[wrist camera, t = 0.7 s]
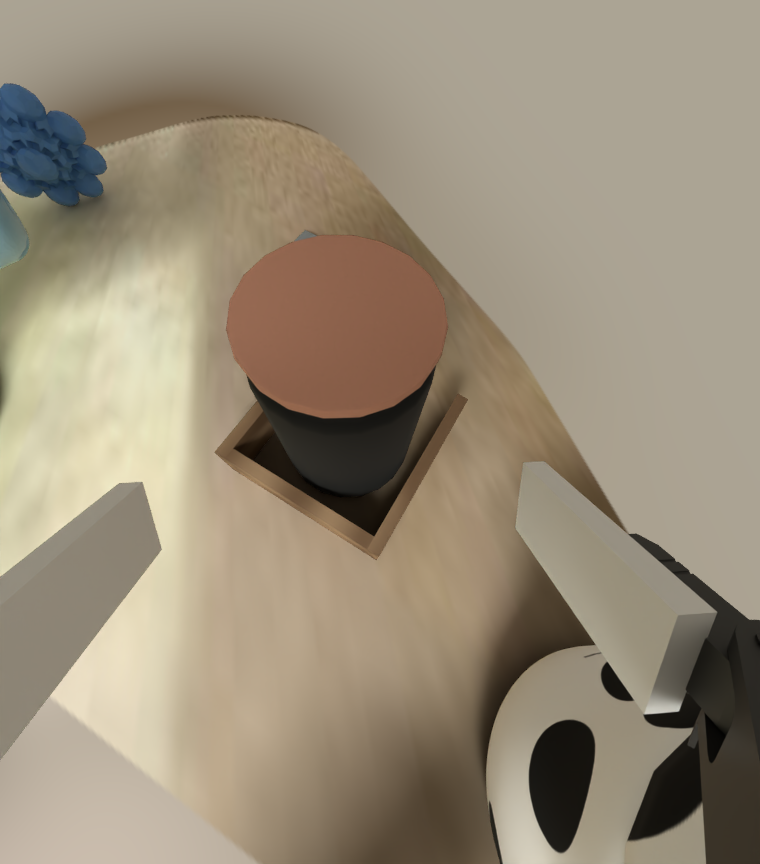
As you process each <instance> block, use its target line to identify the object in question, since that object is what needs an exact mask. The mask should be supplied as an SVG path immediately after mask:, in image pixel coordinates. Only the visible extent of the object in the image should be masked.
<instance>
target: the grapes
mask: <svg viewBox="0 0 760 864" xmlns="http://www.w3.org/2000/svg"><path fill="white" fill-rule="evenodd" d="M85 140H86V135H85V132H84V130H83V128H82V127H81V125H80V124H79V123H78V121H77V120H75V119H74V118H72V117H71V116H70V115H68V114H66V113H64V112H60V111H50V112H49V113H48V114H47V115H46V111H45V108H44V106H43V105H42V103H41V102H40V101H39V100H38V98H37V97H36V96H35V95H34V94H33V93H31V92H30V91H29V90H27V89H25V88H23V87H21V86H20V85H16V84H4V85H3V86H2V87H1V88H0V173H1V177H2V181H3V182H4V183H5V184H6V185H7V186H8V187H9V188H10V189H11V190H12V191H14V192H15V193H17V194H19V195H21V196H25V197H30V198H34V197H38V196H40V195H41V193H42V192H43V191H44V192H45V193H46V195H47V196H48V197H49V198H50V199H51V200H53V201H54V202H56V203H58V204H61V205H66V206H73V205H76V204H77V203H78V201H79V200H80V199H79V194H78V192H79V193H81V194H82V195H85V196H88V197H93V198H94V197H98V196H100V195H101V194H102V192H103V191H104V190H103V185H102V183H101V182H100V181H99V179H98V178H97V177H96V176H95V175H100V174H103V173H104V172H105V170H106V169H107V166H106V161H105V160H104V158H103V157H102V155H101V154H100V153H99V152H98V151H97V150H95V149H94V148H92V147H90V146H88V145H85V144H83V143H84V142H85Z"/></svg>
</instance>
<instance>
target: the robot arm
mask: <svg viewBox="0 0 760 864" xmlns="http://www.w3.org/2000/svg"><path fill="white" fill-rule="evenodd" d="M28 249H29V237H28V234H27V231H26V229H25V228H24V226H23V224H22V222H21V221H20V219H19V217H18V216H17V214H16V212H15V211H14V209H13V208H12V206H11V205H10V203H9V202H8V200H7V199H6V197H5V196H4V194H3V193H2V191H1V190H0V269H2V268H4V267H6V266H8V265H11V264H13V263H15V262H17V261H19V260H21V259H22V258H23V257H24V256H25V255H26V254H27V252H28ZM515 528H516V530H517V531H518V533H519V534H520V536H521V537H522V539H523V540H524V541H525V543H526V544H527V546H528V547H529V549H530V550H531V552H532V553H533V554H534V556H535V557H536V559H537V560H538V562H539V563H540V565H541V566H542V568H543V569H544V570H545V572H546V573H547V575H548V576H549V578H550V579H551V581H552V582H553V583H554V585H555V586H556V588H557V589H558V591H559V592H560V594H561V595H562V596H563V598H564V599H565V601H566V602H567V604H568V605H569V607H570V608H571V609H572V611H573V612H574V614H575V615H576V617H577V618H578V620H579V621H580V623H581V624H582V625H583V627H584V628H585V630H586V631H587V633H588V634H589V636H590V637H591V638H592V640H593V641H594V643H595V644H596V646H597V647H598V649H599V650H600V651H601V653H602V654H603V656H604V657H605V659H606V660H607V662H608V663H609V665H610V666H611V667H612V669H613V670H614V672H615V673H616V675H617V676H618V678H619V679H620V680H621V682H622V683H623V685H624V686H625V688H626V689H627V691H628V692H629V693H630V695H631V696H632V698H633V699H634V701H635V702H636V704H637V705H638V706H639V708H640V709H641V711H642V712H643V714H656V713H667V712H678V711H679V710H680V707H681V704H682V702H683V699H684V697H685V694H686V692H688V693H689V694H690V696H691V697H692V698H693V699H694V700H695V701H696V703H697V704H698V705H699V706H700V707H701V711H700V713H699V716H698V718H697V720H696V723H695V725H694V727H693V730H692V732H691V735H690V737H689V741H688V746H690V747H692V748H695V746H696V744H697V741H698V740H699V755H700V771H701V788H702V804H703V821H704V837H705V854H706V864H760V620H749V619H747V618H746V617H745V616H744V615H743V614H741V613H740V612H739V611H738V610H737V609H735V608H734V607H733V606H732V605H730V604H729V603H728V602H727V601H725V600H724V599H723V598H722V597H721V596H719V595H718V594H717V593H716V592H715V591H713V590H712V589H711V588H710V587H708V586H707V585H706V584H705V583H703V582H702V581H701V580H700V579H699V578H698V577H696V576H695V575H694V574H690V572H689V570H688V569H687V568H685V567H684V566H683V565H682V564H681V563H679V562H676V561H675V559H674V558H673V557H672V556H671V555H670V554H668V553H667V552H666V551H665V550H663V549H662V548H661V547H660V546H659V545H657V544H655V543H653V542H651V541H649V540H647V539H645V538H644V537H642V536H640V535H638V534H627V533H626V532H625V531H624V530H622V529H621V528H620V527H619V526H618V525H617V524H616V523H614V522H613V521H612V520H611V519H610V518H609V517H608V516H606V515H605V514H604V513H603V512H602V511H601V510H600V509H598V508H597V507H596V506H595V505H594V504H593V503H591V502H590V501H589V500H588V499H587V498H586V497H585V496H583V495H582V494H581V493H580V492H579V491H578V490H577V489H575V488H574V487H573V486H572V485H571V484H570V483H569V482H567V481H566V480H565V479H564V478H563V477H562V476H561V475H559V474H558V473H557V472H556V471H555V470H554V469H552V468H551V467H550V466H549V465H548V464H547V463H546V462H544V461H541V462H523V468H522V476H521V484H520V493H519V501H518V509H517V517H516V525H515ZM161 550H162V549H161V545H160V542H159V538H158V535H157V531H156V528H155V524H154V521H153V517H152V514H151V510H150V507H149V503H148V500H147V496H146V493H145V489H144V486H143V482H135V483H119V484H118V485H116V486H115V487H114V488H112V489H111V490H110V491H109V492H107V493H106V494H105V495H104V496H102V497H101V498H100V499H99V500H97V501H96V502H95V503H93V504H92V505H91V506H90V507H88V508H87V509H86V510H85V511H83V512H82V513H81V514H80V515H78V516H77V517H76V518H74V519H73V520H72V521H71V522H69V523H68V524H67V525H66V526H64V527H63V528H62V529H61V530H59V531H58V532H57V533H55V534H54V535H53V536H52V537H50V538H49V539H48V540H47V541H45V542H44V543H43V544H42V545H40V546H39V547H38V548H36V549H35V550H34V551H33V552H31V553H30V554H29V555H28V556H26V557H25V558H24V559H23V560H21V561H20V562H19V563H17V564H16V565H15V566H14V567H12V568H11V569H10V570H9V571H7V572H6V573H5V574H4V575H2V576H1V577H0V760H1V758H2V757H3V756H4V755H5V753H6V752H7V751H8V749H9V748H10V747H11V746H12V744H13V743H14V742H15V740H16V739H17V738H18V736H19V735H20V734H21V733H22V731H23V730H24V729H25V727H26V726H27V725H28V723H29V722H30V721H31V719H32V718H33V717H34V716H35V714H36V713H37V711H38V710H39V709H40V708H41V706H42V705H43V704H44V702H45V701H46V700H47V699H48V697H49V696H50V695H51V693H52V692H53V691H54V689H55V688H56V687H57V686H58V684H59V683H60V682H61V680H62V679H63V678H64V676H65V675H66V674H67V672H68V671H69V670H70V669H71V667H72V666H73V665H74V663H75V662H76V661H77V659H78V658H79V657H80V656H81V654H82V653H83V652H84V650H85V649H86V648H87V646H88V645H89V644H90V642H91V641H92V640H93V639H94V637H95V636H96V635H97V633H98V632H99V631H100V629H101V628H102V627H103V626H104V624H105V623H106V622H107V620H108V619H109V618H110V616H111V615H112V614H113V612H114V611H115V610H116V609H117V607H118V606H119V605H120V603H121V602H122V601H123V599H124V598H125V597H126V595H127V594H128V593H129V592H130V590H131V589H132V588H133V586H134V585H135V584H136V582H137V581H138V580H139V579H140V577H141V576H142V575H143V573H144V572H145V571H146V569H147V568H148V567H149V565H150V564H151V563H152V562H153V560H154V559H155V558H156V556H157V555H158V554H159V552H160V551H161Z"/></svg>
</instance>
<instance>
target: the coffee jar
mask: <svg viewBox="0 0 760 864" xmlns="http://www.w3.org/2000/svg"><path fill="white" fill-rule="evenodd" d="M447 330H448V323H447V317H446V311H445V304H444V299H443V297H442V295H441V293H440V291H439V290H438V288H437V286H436V284H435V283H434V281H433V279H432V277H431V276H430V274H429V273H428V272H426V271H425V270H424V269H423V268H422V267H421V266H420V265H419V264H418V263H417V262H416V261H414V260H413V259H412V258H411V257H410V256H409V255H407V254H405V253H403V252H401V251H399V250H397V249H395V248H393V247H391V246H389V245H387V244H385V243H383V242H380V241H376V240H371V239H367V238H363V237H359V236H354V235H320V236H316V237H311V238H307V239H303V240H298V241H294V242H291V243H289V244H287V245H285V246H283V247H281V248H279V249H277V250H275V251H273V252H271V253H269V254H267V255H265V256H264V257H263V258H262V259H261V260H260V261H259V262H257V263H256V264H255V265H254V266H253V267H252V268H251V269H250V270H249V271H248V272H247V273H246V274H244V275H243V277H242V279H241V281H240V283H239V285H238V286H237V288H236V290H235V292H234V294H233V295H232V297H231V299H230V303H229V311H228V319H227V327H226V331H227V334H228V338H229V341H230V345H231V348H232V352H233V355H234V359H235V360H236V361H237V363H238V364H239V365H240V367H241V368H242V369H243V371H244V372H245V373H246V375H247V378H248V382H249V385H250V388H251V390H252V392H253V393H254V395H255V397H256V399H257V401H258V402H259V404H260V406H261V408H262V410H263V411H264V413H265V415H266V417H267V418H268V420H269V422H270V424H271V426H272V427H273V429H274V431H275V433H276V435H277V436H278V438H279V440H280V442H281V443H282V445H283V447H284V449H285V451H286V452H287V454H288V456H289V458H290V460H291V461H292V463H293V465H294V467H295V468H296V469H297V471H298V472H299V473H300V475H301V476H302V477H303V479H304V480H305V481H306V482H307V483H309V484H310V485H312V486H313V487H315V488H316V489H318V490H319V491H321V492H324V493H327V494H331V495H335V496H338V497H353V496H362V495H365V494H367V493H370V492H373V491H375V490H378V489H379V488H381V487H382V486H383V485H384V484H386V483H387V482H388V481H389V480H391V479H392V478H393V477H394V475H395V474H396V472H397V471H398V469H399V468H400V466H401V465H402V463H403V461H404V458H405V455H406V453H407V450H408V447H409V444H410V442H411V439H412V436H413V433H414V431H415V428H416V425H417V422H418V420H419V417H420V414H421V411H422V409H423V406H424V403H425V400H426V398H427V395H428V392H429V389H430V386H431V384H432V380H433V376H434V371H435V367H436V364H437V363H438V361H439V359H440V357H441V355H442V351H443V347H444V343H445V338H446V334H447Z"/></svg>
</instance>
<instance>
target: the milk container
mask: <svg viewBox="0 0 760 864" xmlns="http://www.w3.org/2000/svg"><path fill="white" fill-rule="evenodd" d="M700 711H701V707H700V706H699V705H698V704H697V703H696V701H695V700H694V699H693V698H692V697H691V696H690V694H689V693H688V692H686V694H685V697H684V699H683V702H682V704H681V707H680V710H679V711H678V712H667V713H656V714H643V712H642V711H641V709H640V708H639V706H638V705H637V704H636V702H635V701H634V699H633V698H632V696H631V695H630V693H629V692H628V691H627V689H626V688H625V686H624V685H623V683H622V682H621V680H620V679H619V678H618V676H617V675H616V673H615V672H614V670H613V669H612V667H611V666H610V665H609V663H608V662H607V660H606V659H605V657H604V656H603V654H602V653H601V651H600V650H599V649H598V647H597V646H596V645H590V646H578V647H573V648H567V649H563V650H560V651H557V652H554V653H552V654H549V655H547V656H545V657H544V658H542V659H540V660H539V661H537V662H536V663H534V664H533V665H532V666H530V667H529V668H528V669H527V670H526V671H525V672H524V673H523V674H522V675H521V676H520V677H519V678H518V679H517V680H516V682H515V683H514V684H513V686H512V687H511V689H510V690H509V692H508V693H507V695H506V697H505V699H504V701H503V703H502V705H501V707H500V709H499V711H498V714H497V716H496V719H495V722H494V726H493V729H492V733H491V737H490V742H489V748H488V755H487V767H486V789H487V802H488V810H489V817H490V822H491V827H492V832H493V837H494V841H495V845H496V849H497V853H498V857H499V860H500V864H706V854H705V837H704V821H703V804H702V788H701V771H700V755H699V740H698V741H697V744H696V746H695V748H692V747H690V746H688V741H689V737H690V735H691V732H692V730H693V727H694V725H695V723H696V720H697V718H698V716H699V713H700Z"/></svg>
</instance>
